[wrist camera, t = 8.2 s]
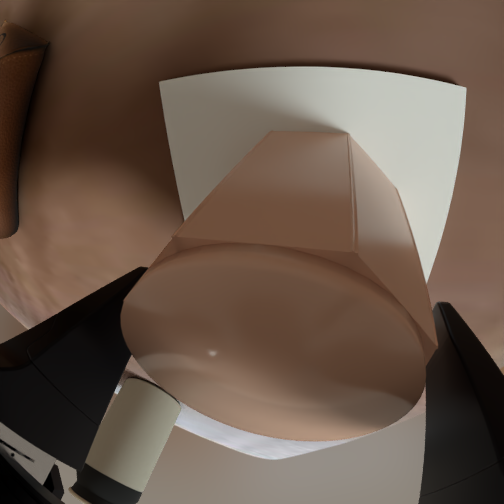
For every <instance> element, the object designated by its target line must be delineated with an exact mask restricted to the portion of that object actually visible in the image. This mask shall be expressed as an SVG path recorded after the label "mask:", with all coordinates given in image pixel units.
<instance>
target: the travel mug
mask: <svg viewBox="0 0 504 504" xmlns="http://www.w3.org/2000/svg"><path fill="white" fill-rule="evenodd" d="M180 411H181V406H180V405H179V403H178V402H177V401H176V400H175V399H174V398H173V397H172V396H171V395H170V394H168V393H167V392H165V391H164V390H162V389H161V388H159V387H157V386H155V385H153V384H151V383H149V382H146V381H144V380H141V379H136V378H128V379H126V381H125V383H124V384H123V386H122V388H121V390H120V391H119V393H118V395H117V396H116V398H115V400H114V402H113V403H112V405H111V407H110V409H109V410H108V412H107V414H106V416H105V417H104V419H103V421H102V423H101V424H100V426H99V429H98V431H97V434H96V436H95V439H94V441H93V444H92V446H91V449H90V451H89V454H88V456H87V459H86V461H85V464H84V467H83V469H82V471H81V472H80V471H78V470H76V471H77V482H76V483H75V484H74V485H73V486H72V487H69V492H70V493H71V494H72V495H73V496H74V497H75V498H77V499H78V500H79V501H81V502H82V503H84V504H136V503H137V502H138V501H139V499H140V497H141V494H142V492H143V490H144V488H145V486H146V484H147V482H148V479H149V477H150V475H151V473H152V471H153V469H154V467H155V465H156V462H157V460H158V458H159V456H160V454H161V451H162V450H163V447H164V445H165V443H166V441H167V439H168V437H169V435H170V432H171V430H172V428H173V425H174V424H175V422H176V420H177V417H178V415H179V413H180Z"/></svg>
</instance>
